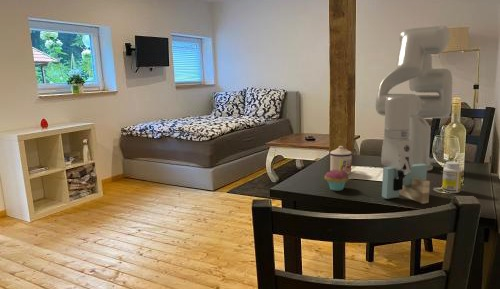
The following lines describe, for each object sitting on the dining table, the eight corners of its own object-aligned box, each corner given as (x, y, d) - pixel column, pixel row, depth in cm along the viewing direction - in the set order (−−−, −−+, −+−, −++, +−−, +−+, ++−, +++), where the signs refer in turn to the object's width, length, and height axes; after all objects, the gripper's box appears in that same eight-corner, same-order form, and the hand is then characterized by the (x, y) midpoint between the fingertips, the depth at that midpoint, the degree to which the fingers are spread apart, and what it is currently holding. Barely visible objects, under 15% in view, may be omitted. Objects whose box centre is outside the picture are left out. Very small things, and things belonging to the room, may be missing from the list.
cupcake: (344, 185, 140) (345, 154, 138) (351, 191, 132) (352, 159, 130) (322, 186, 140) (322, 155, 138) (327, 192, 132) (327, 160, 129)
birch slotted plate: (388, 189, 133) (389, 171, 131) (394, 189, 133) (394, 170, 132) (422, 203, 118) (423, 182, 116) (428, 202, 118) (429, 181, 117)
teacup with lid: (343, 177, 151) (343, 149, 149) (325, 173, 158) (325, 146, 156) (360, 171, 159) (360, 144, 157) (342, 168, 166) (342, 142, 164)
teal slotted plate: (419, 191, 129) (421, 163, 127) (425, 193, 126) (427, 164, 125) (381, 196, 123) (383, 167, 122) (386, 198, 121) (388, 169, 120)
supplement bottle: (453, 188, 132) (455, 160, 130) (463, 193, 127) (465, 163, 125) (438, 189, 132) (440, 161, 130) (448, 194, 126) (450, 164, 124)
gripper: (424, 136, 114) (421, 194, 117) (389, 130, 129) (387, 181, 132) (405, 138, 111) (402, 197, 115) (371, 131, 126) (369, 183, 130)
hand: (394, 188), depth 123 cm, fingers closed on teal slotted plate, 2 cm apart
